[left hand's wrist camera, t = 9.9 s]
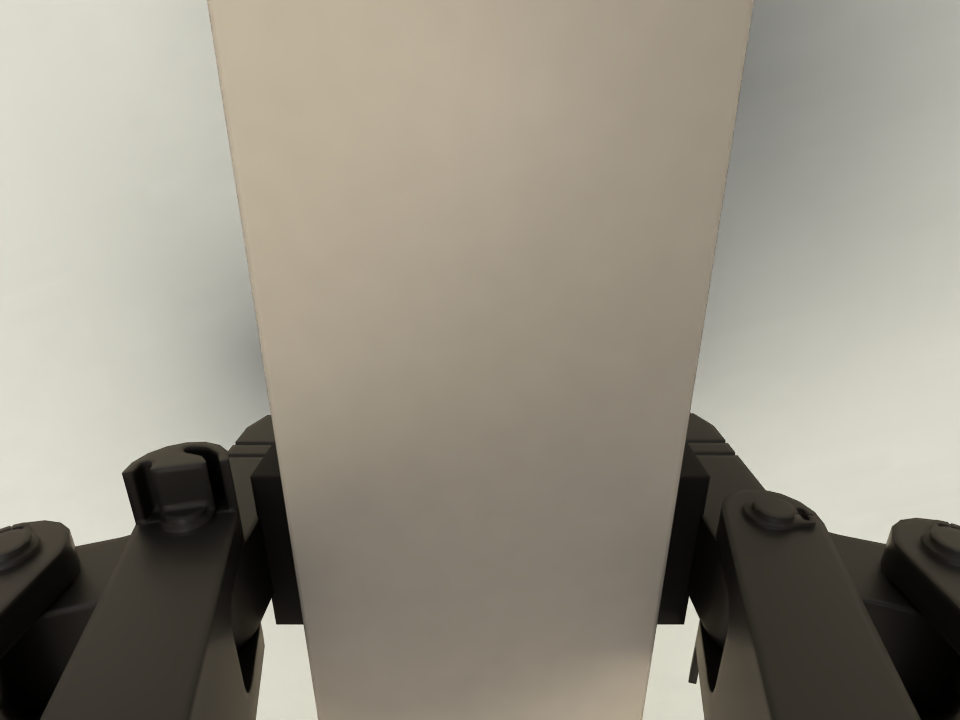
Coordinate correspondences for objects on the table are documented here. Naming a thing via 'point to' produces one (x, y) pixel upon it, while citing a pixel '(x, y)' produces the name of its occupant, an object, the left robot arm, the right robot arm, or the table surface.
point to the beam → (480, 329)
